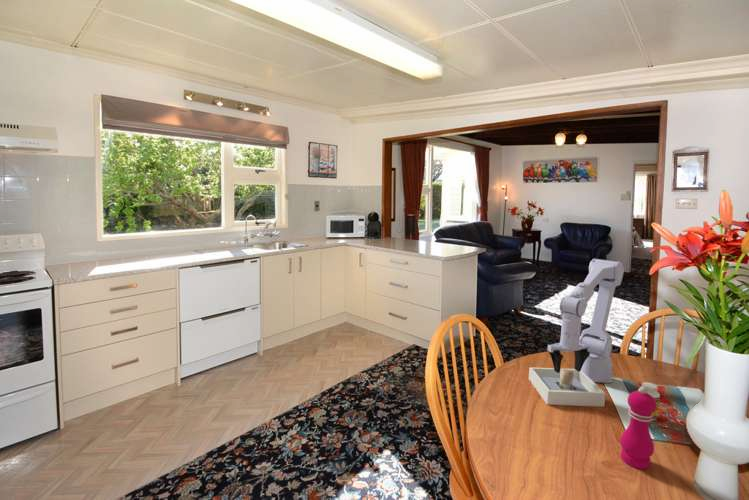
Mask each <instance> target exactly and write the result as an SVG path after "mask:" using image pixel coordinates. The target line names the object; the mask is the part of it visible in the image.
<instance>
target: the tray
mask: <svg viewBox="0 0 749 500" xmlns="http://www.w3.org/2000/svg"><path fill="white" fill-rule="evenodd" d="M561 369H562V368H560V370H561ZM567 369H568V370H571V371H573V372H574V373H573V378H576V379H577V380H578V381H579V382H580V383H581V384H582V385H583V386H584V387H585V388H586V389H587V390H588V391H589V392H584V391H557V390H549V389H548V387H547V386H546V385H545V384H544V382H543V381H542V380H541V377H553V378H560V373H557V372H556V371H554V367H529V368H528V370H529V371H528V381H531V382H530V384H532V386H533V388H536V389H535V390H536V391H537V393H538V394H539V395H540V397H541V398H542V399H543V401H544V403H545V404H546V405H554V406H578V407H579V406H580V407H605V404H606V403H605V402H606V395H607V394H606V392H605V391H604V390H602V388H601V387H600V386H599V385H597V384H596V382H593V381H592V380H591V379H590V378H589V377H588V376H587V375H585V374H584V373H583V372H582V371H580V372H578V371H577V370H575V368H567Z"/></svg>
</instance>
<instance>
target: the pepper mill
mask: <svg viewBox="0 0 749 500" xmlns="http://www.w3.org/2000/svg"><path fill="white" fill-rule="evenodd" d="M638 389H639V391H638V390H635V391H632V392H631V393H630V394H629V395H628V396H627V404H628V406H629V408H628V415H629V416H630V417H629V419H630V420H629V424H628V426H627V427H626V429H625V430H624V431H623V433H622V434H621V436H620V440H619V443H620V446H621V447H622V448H621V451H620V458H621V460H622V461H623V462H624V463H625V464H627V465H628V466H630V467H633V468H634V469H635V468H636V469H640V470H643V469H644V470H645V469H648V468H650V466H651V465H650V464H651V457H652V456H653V455H654V453H655V445H654V441H653V438H652V437H651V433H650V429H649V427H650V422H653V421H652V416H653V414H652V413H653V412H654V411H655V410H656V401H655V399H654V398H653V397H652V396H651V395H650V394H648V393H647V389H646V388H645V387H641V386H640V387H639V388H638Z"/></svg>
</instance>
